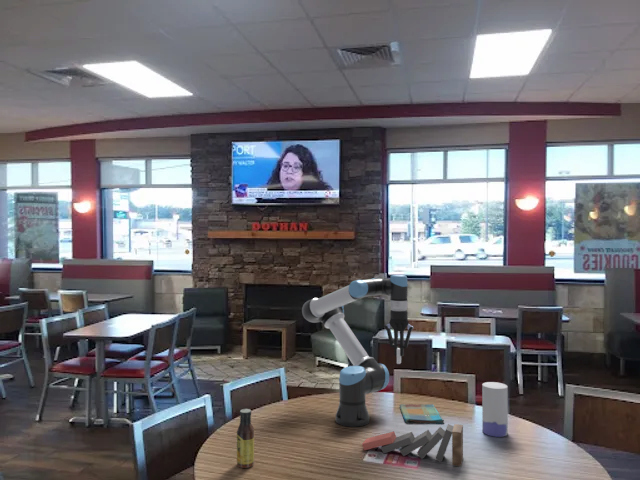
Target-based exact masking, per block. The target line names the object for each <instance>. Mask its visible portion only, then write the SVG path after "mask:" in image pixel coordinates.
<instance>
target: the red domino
mask: <svg viewBox="0 0 640 480" xmlns="http://www.w3.org/2000/svg"><path fill="white" fill-rule="evenodd" d="M396 437H397V436H396V432H395V431H391V432H387V433H382V434H379V435H375V436H371V437H368V438H367V437H366V438H365V440H364V441H363V442H362V443H361V444H362V445H361V446H362V447H363V448H362V449H363V451H367V450H372V449H374V448H378V447H379V448H380V447H382V446H383V445H387V444H391V443H393V442H394V440H395V439H396Z"/></svg>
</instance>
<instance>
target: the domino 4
mask: <svg viewBox="0 0 640 480" xmlns="http://www.w3.org/2000/svg"><path fill="white" fill-rule="evenodd" d="M453 428H454V425H451V424H449V423H447V426H446V428H445V430H444V431H445V434H444V436H443V438H442V439H441V442H440V444H439V447H438V449H437V450H438V451H437V452H436V456H435V460H436V461H438V462H440V463H442V462H443V459H444V458H445V457H444V456H445V454H446V451H447V449H448V446H449V443H450V441H451V439H452V431H453Z"/></svg>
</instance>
